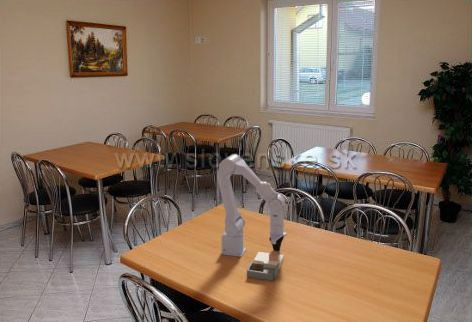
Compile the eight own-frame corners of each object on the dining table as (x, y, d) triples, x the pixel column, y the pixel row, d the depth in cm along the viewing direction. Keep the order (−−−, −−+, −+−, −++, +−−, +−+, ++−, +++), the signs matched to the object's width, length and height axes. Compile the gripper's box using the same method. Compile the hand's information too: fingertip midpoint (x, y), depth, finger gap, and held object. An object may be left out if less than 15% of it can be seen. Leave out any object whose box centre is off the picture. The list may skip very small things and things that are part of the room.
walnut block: (254, 268, 162) (252, 272, 160) (254, 260, 161) (252, 263, 159) (263, 270, 161) (262, 273, 158) (263, 261, 160) (262, 264, 157)
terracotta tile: (268, 260, 165) (268, 254, 165) (271, 255, 169) (271, 250, 168) (278, 261, 164) (278, 256, 163) (280, 256, 168) (280, 251, 167)
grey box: (247, 277, 157) (247, 270, 156) (253, 265, 165) (253, 259, 164) (274, 281, 153) (274, 274, 152) (279, 269, 161) (279, 263, 161)
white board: (253, 265, 165) (253, 261, 164) (258, 255, 173) (258, 251, 173) (279, 269, 161) (279, 265, 161) (283, 259, 170) (283, 255, 169)
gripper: (282, 231, 159) (282, 261, 162) (289, 217, 172) (288, 245, 175) (265, 229, 161) (265, 259, 164) (273, 215, 174) (273, 243, 177)
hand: (276, 252), depth 170 cm, fingers closed
